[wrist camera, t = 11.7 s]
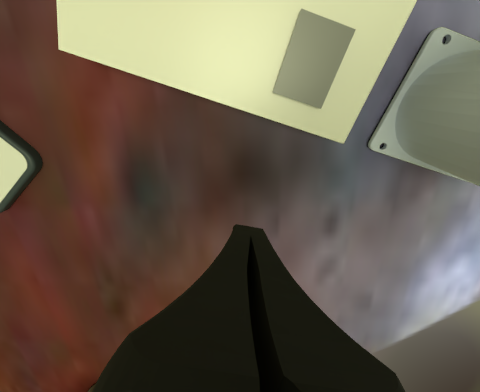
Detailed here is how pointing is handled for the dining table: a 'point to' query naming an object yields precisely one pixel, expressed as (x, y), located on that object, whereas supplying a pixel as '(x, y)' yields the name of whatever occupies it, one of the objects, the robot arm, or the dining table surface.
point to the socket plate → (247, 51)
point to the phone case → (15, 166)
